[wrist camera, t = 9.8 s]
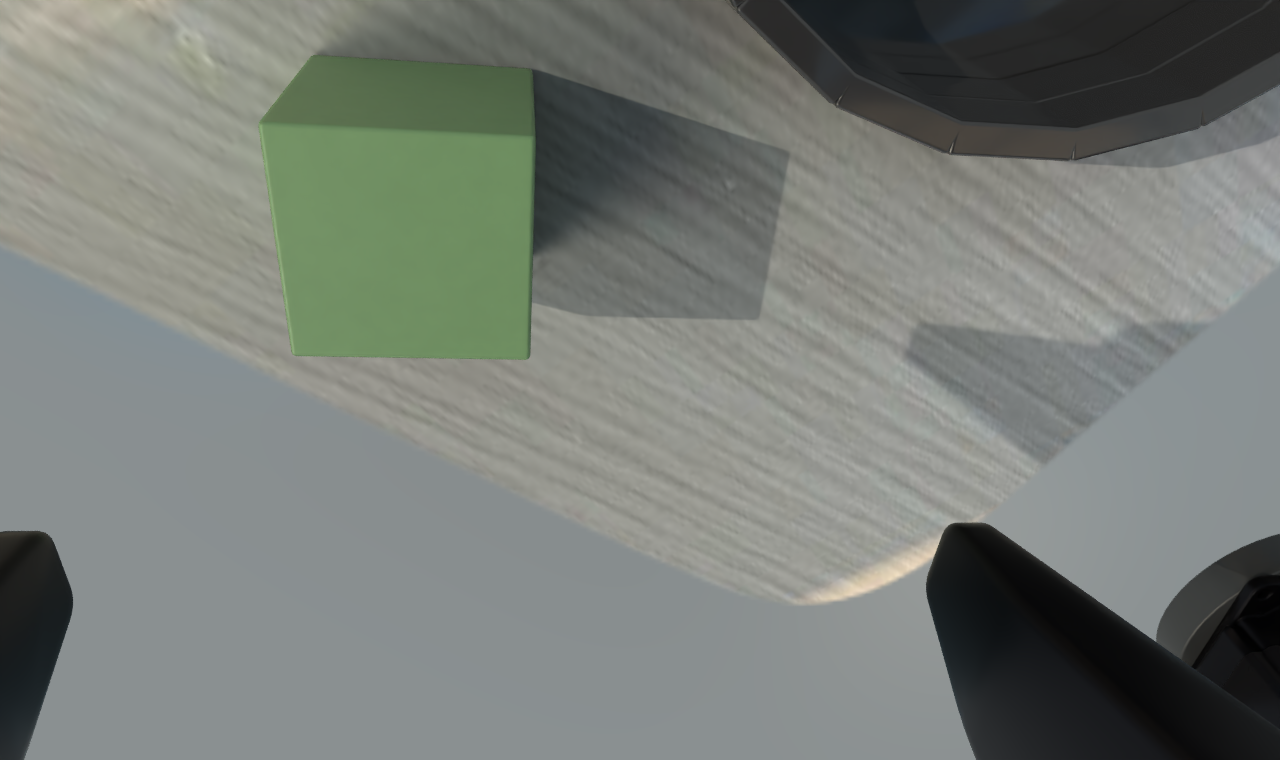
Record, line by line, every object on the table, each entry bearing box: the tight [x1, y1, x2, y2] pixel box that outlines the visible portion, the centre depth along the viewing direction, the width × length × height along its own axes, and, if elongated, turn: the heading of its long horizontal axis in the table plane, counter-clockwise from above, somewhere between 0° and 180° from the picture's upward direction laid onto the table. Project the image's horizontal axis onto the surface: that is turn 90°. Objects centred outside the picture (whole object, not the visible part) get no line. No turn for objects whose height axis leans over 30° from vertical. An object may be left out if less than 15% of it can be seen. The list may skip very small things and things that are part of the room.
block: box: [258, 55, 536, 360], centre depth 16 cm, size 4×4×4 cm
